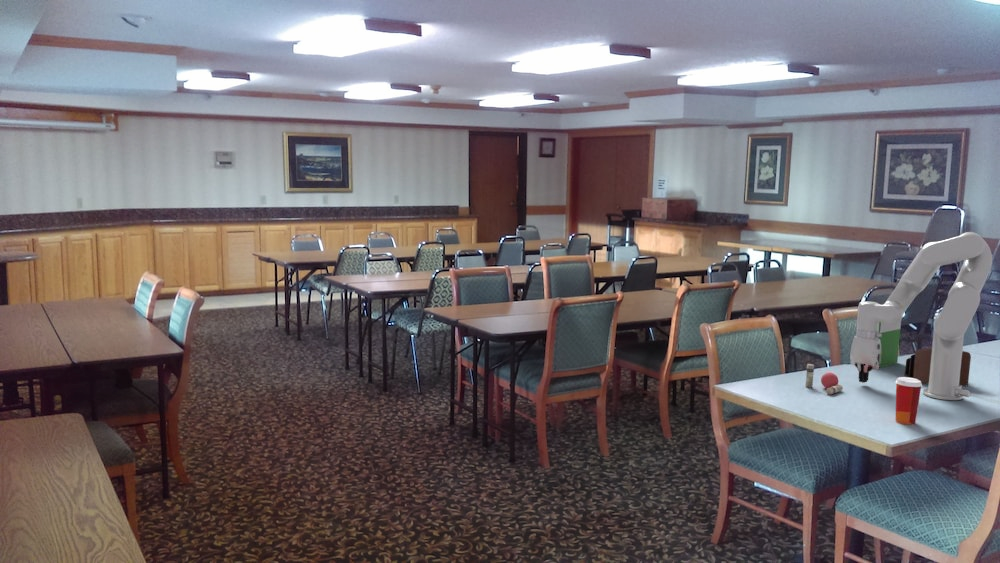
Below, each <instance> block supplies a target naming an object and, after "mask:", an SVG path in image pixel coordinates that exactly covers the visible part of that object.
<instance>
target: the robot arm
mask: <svg viewBox="0 0 1000 563" xmlns="http://www.w3.org/2000/svg"><path fill="white" fill-rule="evenodd" d="M962 261H963V263H962V265H961V268H960V271H959V273H958V275H957V277H956V279H955V281H954V283H953V285H952V286H951V288H950V289H949V291H948V294H947V298H946V300H945V302H944V305H943V307H942V308H941V311H940V312H938V314H936V315H935V318H934V322H933V333H932V344H931V345H932V347H931V349H932V354H931V364H930V375H929V384H927V385H928V386H927V388H924V389H923V390H922V394H924V396H926V397H929V398H933V399H937V400H943V401H944V400H945V401H959V400H963V397H966V398H970V397H971V392H970V390H966V389H965V390H964V389H963V386H961V385H959V379H960V369H961V359H962V351H964V350H963V349H964V337H965V333H966V332H967V329H968V328H969V326H970V323H971V322H972V320H973V317H974V316H975V314H976V312H977V310H978V307H979V305H980V302H981V296H980V295H981V292H982V290H983V288H984V285H985V283H986V281H987V279H988V276H989V274H990V273H991V272H990V271H991V270H992V266H993V255H992V250H991V248H990V246H989V245H988V243H987V242H986V241H985V239H984V238H983V237H982V236H981V235H980V234H978V233H976V232H973V231H966V232H963V233H961V234H960V235H958V236H955V237H951V238H948V239H944V240H939V241H929V242H926V243H925V244H924V245H923V246H922V247H921V248H920V250H919V252H918V253H917V254H916V256H915V257H914V258H913V260H912V262H911V263H910V264H909V266H907V269H906V270H905V271H904V273H903V274H902V276H901V277H900V279H899V282H898V283H897V285H896V287H895V288H894V289H893V290H892V292H891V293H890V295H889V297H888V298H887V299H886V301H885V302H884V303H883V304H880V303H878V302H876V301H870V300H869V301H866V300H865V301H861V302H859V303H858V307H857V320H856V334H855V335H854V336H853V339H852V343H851V347H850V353H849V354H850V355H849V356H850V357H849V358H850V361H849V362H850V365H852V366H855V367H856V368H857V371H858V382H859V383H863V384H864V383H866V382H868V381H869V374H870V372H871V371H872V370H878V369H880V368H879V364H880V363H881V342H880V339H878V337H881V336H882V334H880V333H879V331H878V330H879V322H881V323H885V324H897V323H899V322H900V321H901V322H902V319H903V317H904V314H905V312H906V311H907V309H908V308H909V307H910V305H911V304H912V303H913V301H914V300H915V298H916V297H917V296H918V295H919V294H920V293H921V292H922V291H924V289H925V288H926V287H927V286H928V284H929V283H930V282H931V280H932V278H933V277H934V275H935V274H936V273H937V271H938V270H939V269H940V267H942V266H946V265H950V264H953V263H954V264H955V263H959V262H962ZM864 364H865V365H864Z"/></svg>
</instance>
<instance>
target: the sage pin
mask: <svg viewBox="0 0 1000 563" xmlns="http://www.w3.org/2000/svg"><path fill="white" fill-rule="evenodd" d="M814 367H815V365H814V364H813V363H807V364H806V372H805V373H806V375H805V376H806V377H805V387H806V388H808V387H809V388H811V387H812V388H813V384H814V374H815V373H814V371H815V368H814ZM812 388H811V389H812Z"/></svg>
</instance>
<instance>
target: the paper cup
mask: <svg viewBox="0 0 1000 563" xmlns="http://www.w3.org/2000/svg"><path fill="white" fill-rule="evenodd" d="M895 385H896V386H895V422H896V423H898V424H902V425H907V426H908V425H909V426H910V425H915V423H916V420H917V414H918V407H919V402H920V395H921V389H922V387H923V383H921V381H920V380H918V379H915V378H908V377H905V376H900V377H897V378H896V380H895Z"/></svg>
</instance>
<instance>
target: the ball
mask: <svg viewBox="0 0 1000 563" xmlns="http://www.w3.org/2000/svg"><path fill="white" fill-rule="evenodd" d="M820 378H821V379H820V383H821V385H822V387H824V388H826V389H827V388H830V387H833V386H836V385H839V378H838V376H837V375H836V374H835V373H834V372H833V373H832V372H826V373H824V374H823V375H822V376H821V377H820Z"/></svg>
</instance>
